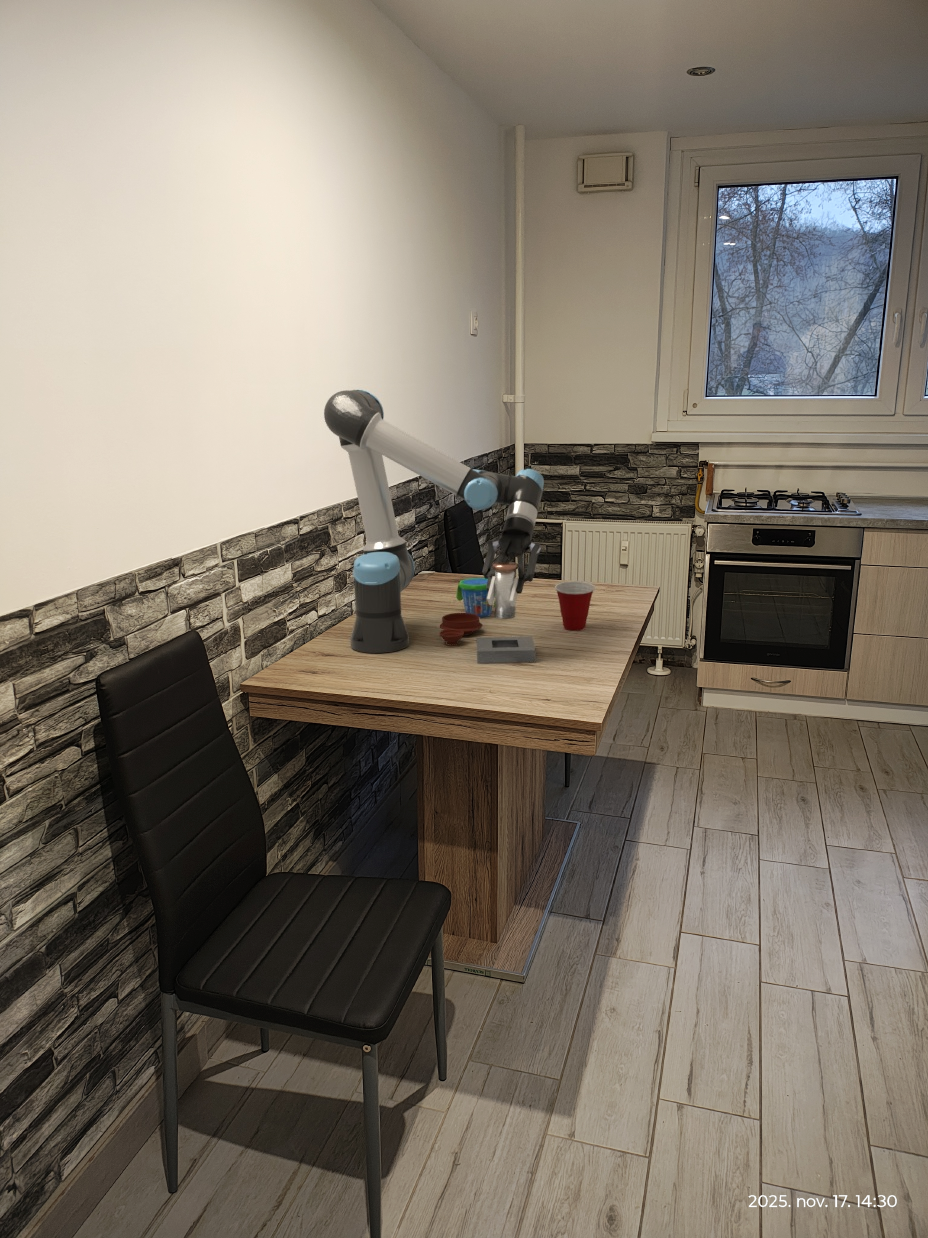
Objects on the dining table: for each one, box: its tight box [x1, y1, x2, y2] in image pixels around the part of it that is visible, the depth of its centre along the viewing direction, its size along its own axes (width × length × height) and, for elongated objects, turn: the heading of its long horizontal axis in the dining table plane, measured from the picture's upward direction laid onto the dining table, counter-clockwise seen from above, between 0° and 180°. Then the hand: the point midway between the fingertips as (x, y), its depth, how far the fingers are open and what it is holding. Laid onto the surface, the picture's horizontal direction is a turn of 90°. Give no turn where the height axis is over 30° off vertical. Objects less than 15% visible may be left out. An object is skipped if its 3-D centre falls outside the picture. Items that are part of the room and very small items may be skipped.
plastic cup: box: [554, 580, 596, 632], centre depth 242 cm, size 11×11×12 cm
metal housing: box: [475, 636, 536, 664], centre depth 220 cm, size 14×12×3 cm
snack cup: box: [456, 577, 495, 618], centre depth 258 cm, size 16×10×10 cm
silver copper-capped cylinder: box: [492, 561, 518, 620], centre depth 216 cm, size 6×6×13 cm
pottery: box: [438, 612, 483, 646], centre depth 237 cm, size 12×20×4 cm, turn 168°
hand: (500, 602), depth 213 cm, fingers closed on silver copper-capped cylinder, 5 cm apart
